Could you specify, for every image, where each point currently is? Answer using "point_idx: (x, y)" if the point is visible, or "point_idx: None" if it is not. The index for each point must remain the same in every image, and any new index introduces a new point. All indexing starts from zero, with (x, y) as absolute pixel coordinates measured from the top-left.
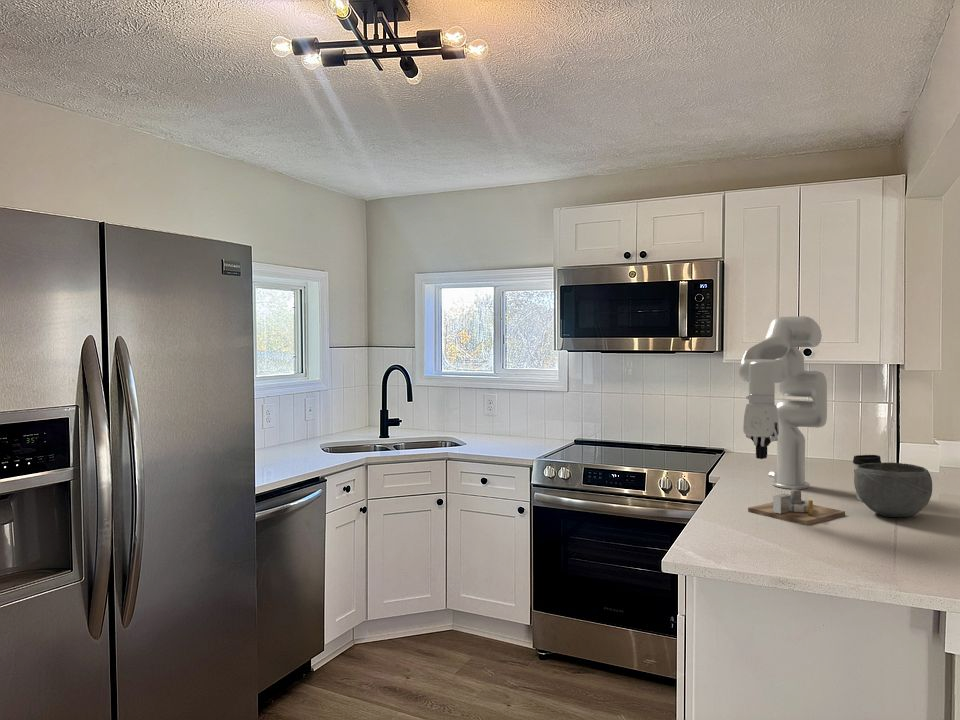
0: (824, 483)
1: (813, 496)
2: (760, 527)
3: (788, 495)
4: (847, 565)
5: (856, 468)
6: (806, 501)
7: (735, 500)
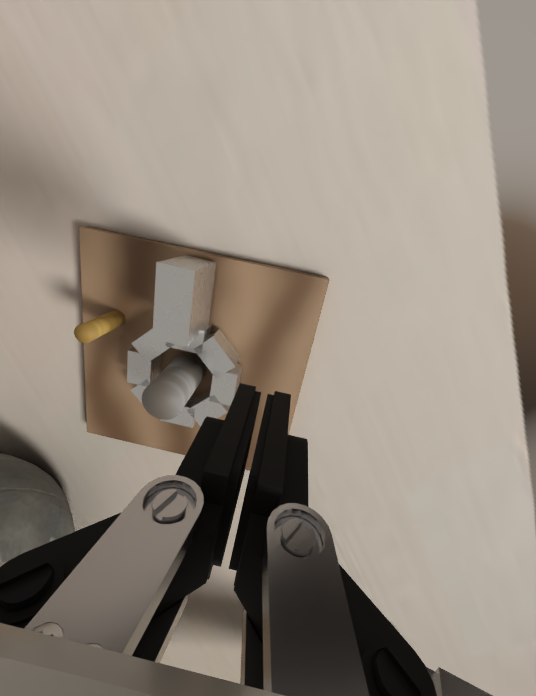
0: None
1: None
2: (172, 38)
3: (155, 324)
4: None
5: None
6: None
7: (430, 408)
